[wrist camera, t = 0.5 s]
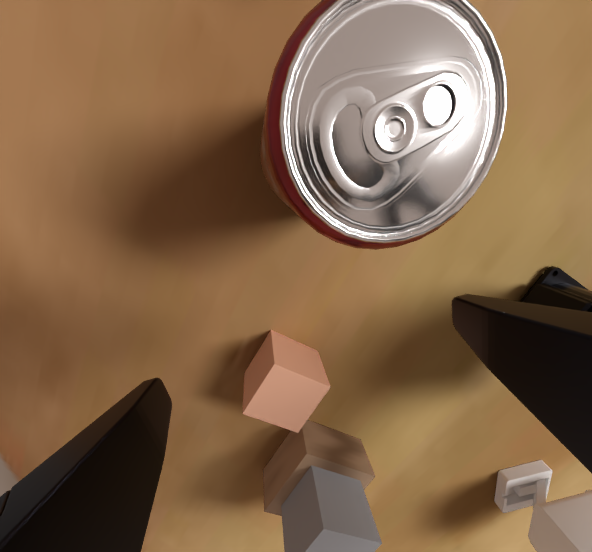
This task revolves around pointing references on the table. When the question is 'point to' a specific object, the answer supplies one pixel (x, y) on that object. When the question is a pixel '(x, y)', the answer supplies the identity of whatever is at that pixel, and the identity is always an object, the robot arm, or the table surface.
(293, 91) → the soda can
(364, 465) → the translucent square block
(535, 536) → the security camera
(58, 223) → the table surface
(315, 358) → the terracotta cube
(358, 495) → the grey cube
